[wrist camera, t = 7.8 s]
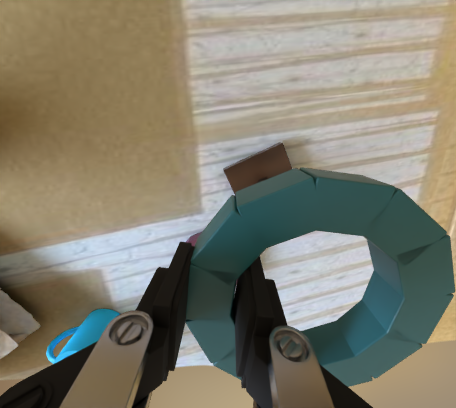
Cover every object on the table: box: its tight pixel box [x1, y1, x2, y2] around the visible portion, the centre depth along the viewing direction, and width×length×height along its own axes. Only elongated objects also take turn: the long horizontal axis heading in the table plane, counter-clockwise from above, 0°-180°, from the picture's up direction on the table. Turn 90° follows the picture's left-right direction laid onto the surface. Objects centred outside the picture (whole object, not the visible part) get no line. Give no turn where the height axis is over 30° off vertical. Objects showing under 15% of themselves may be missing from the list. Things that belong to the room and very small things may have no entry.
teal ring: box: [186, 168, 455, 387], centre depth 10 cm, size 11×11×2 cm
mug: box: [46, 309, 120, 364], centre depth 38 cm, size 12×8×8 cm
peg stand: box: [224, 143, 292, 196], centre depth 27 cm, size 9×9×13 cm
